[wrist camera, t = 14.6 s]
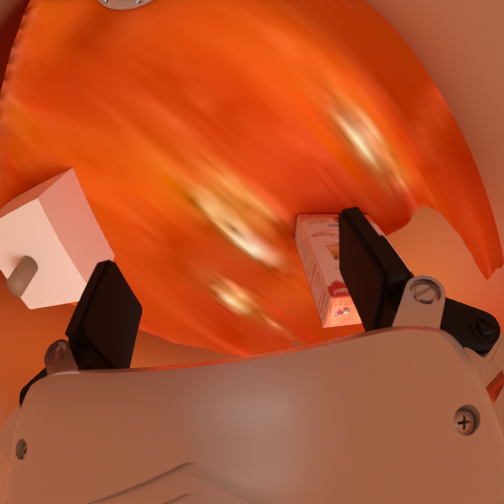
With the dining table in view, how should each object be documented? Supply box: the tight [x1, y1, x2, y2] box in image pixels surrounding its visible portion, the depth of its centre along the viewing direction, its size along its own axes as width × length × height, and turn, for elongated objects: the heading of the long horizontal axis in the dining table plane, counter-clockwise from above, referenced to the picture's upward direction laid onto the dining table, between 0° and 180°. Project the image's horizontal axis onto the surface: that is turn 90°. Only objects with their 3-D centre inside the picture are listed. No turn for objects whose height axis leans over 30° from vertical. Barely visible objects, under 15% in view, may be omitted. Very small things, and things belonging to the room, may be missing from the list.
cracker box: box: [295, 214, 415, 327], centre depth 42 cm, size 14×6×21 cm, turn 89°
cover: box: [0, 168, 115, 309], centre depth 38 cm, size 19×19×18 cm
